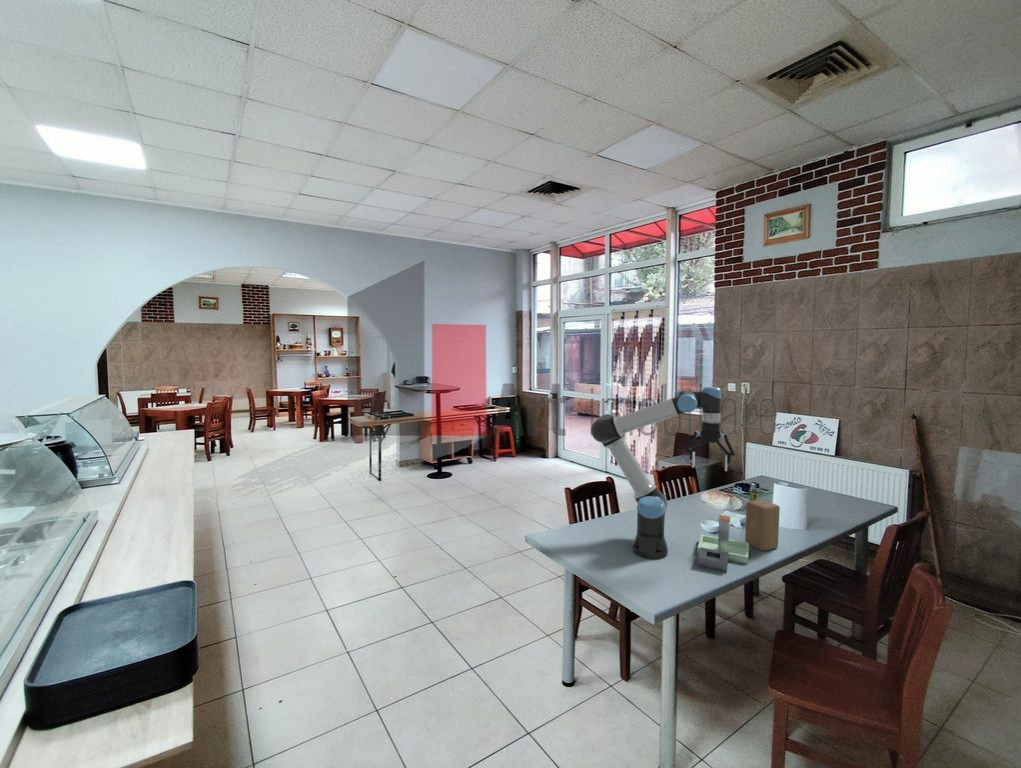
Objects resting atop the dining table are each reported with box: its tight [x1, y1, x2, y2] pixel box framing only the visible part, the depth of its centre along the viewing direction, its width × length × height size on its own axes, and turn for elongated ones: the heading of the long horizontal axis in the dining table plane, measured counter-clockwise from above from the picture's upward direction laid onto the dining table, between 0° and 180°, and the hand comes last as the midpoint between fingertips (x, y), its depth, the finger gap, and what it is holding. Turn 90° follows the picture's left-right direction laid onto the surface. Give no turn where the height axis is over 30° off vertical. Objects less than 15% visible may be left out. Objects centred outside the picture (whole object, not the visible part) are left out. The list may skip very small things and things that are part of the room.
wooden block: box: [744, 499, 781, 552], centre depth 214 cm, size 10×10×20 cm
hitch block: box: [697, 547, 729, 573], centre depth 197 cm, size 11×11×4 cm
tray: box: [696, 534, 750, 565], centre depth 208 cm, size 20×16×3 cm
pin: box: [718, 514, 731, 552], centre depth 208 cm, size 5×5×15 cm
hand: (709, 468), depth 210 cm, fingers open, 13 cm apart
